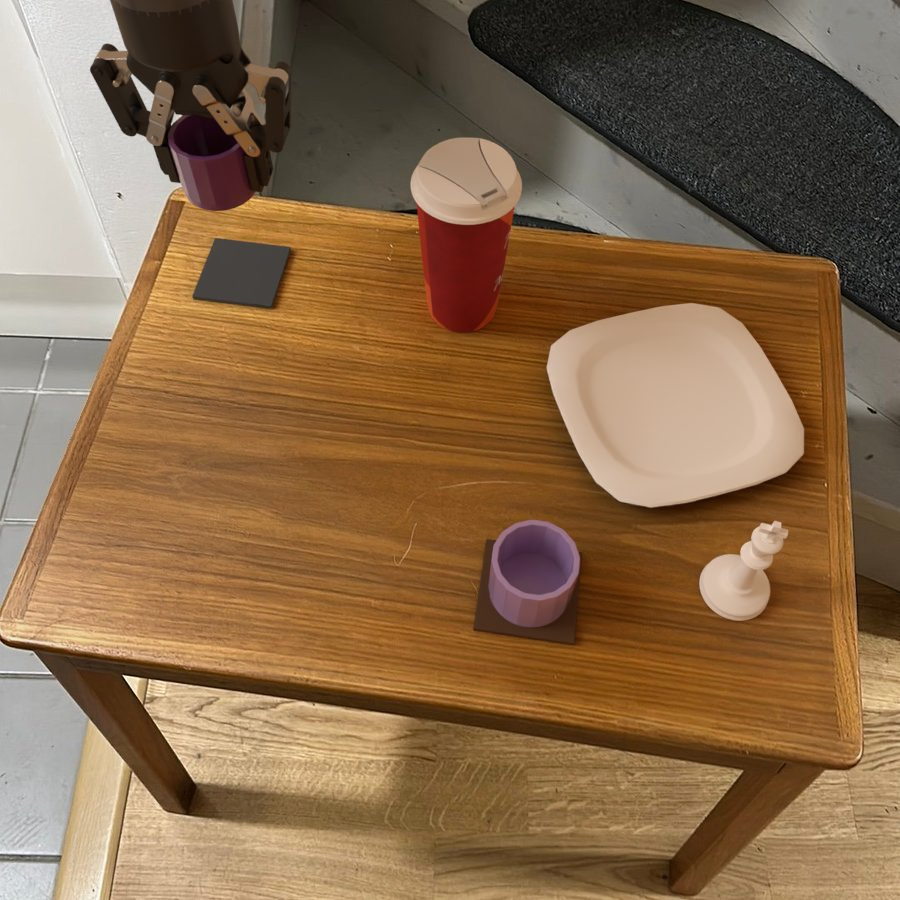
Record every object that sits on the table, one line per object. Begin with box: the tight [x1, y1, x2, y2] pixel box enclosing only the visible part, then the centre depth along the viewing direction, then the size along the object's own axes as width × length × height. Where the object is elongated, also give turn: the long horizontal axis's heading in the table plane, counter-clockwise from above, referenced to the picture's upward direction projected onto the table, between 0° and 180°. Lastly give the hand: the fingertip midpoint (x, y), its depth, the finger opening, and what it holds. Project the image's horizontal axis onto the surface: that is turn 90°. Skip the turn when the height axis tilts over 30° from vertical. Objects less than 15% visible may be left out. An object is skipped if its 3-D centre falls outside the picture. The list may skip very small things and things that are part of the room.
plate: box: [546, 302, 805, 509], centre depth 73 cm, size 18×18×2 cm
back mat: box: [191, 237, 292, 310], centre depth 81 cm, size 7×7×1 cm
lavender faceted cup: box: [489, 519, 580, 627], centre depth 63 cm, size 6×6×5 cm
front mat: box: [472, 538, 583, 646], centre depth 66 cm, size 7×7×1 cm
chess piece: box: [698, 520, 789, 622], centre depth 62 cm, size 5×5×10 cm
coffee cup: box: [410, 137, 523, 333], centre depth 73 cm, size 8×8×15 cm
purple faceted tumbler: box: [168, 114, 256, 212], centre depth 70 cm, size 6×6×5 cm
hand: (219, 179), depth 72 cm, fingers closed on purple faceted tumbler, 6 cm apart
